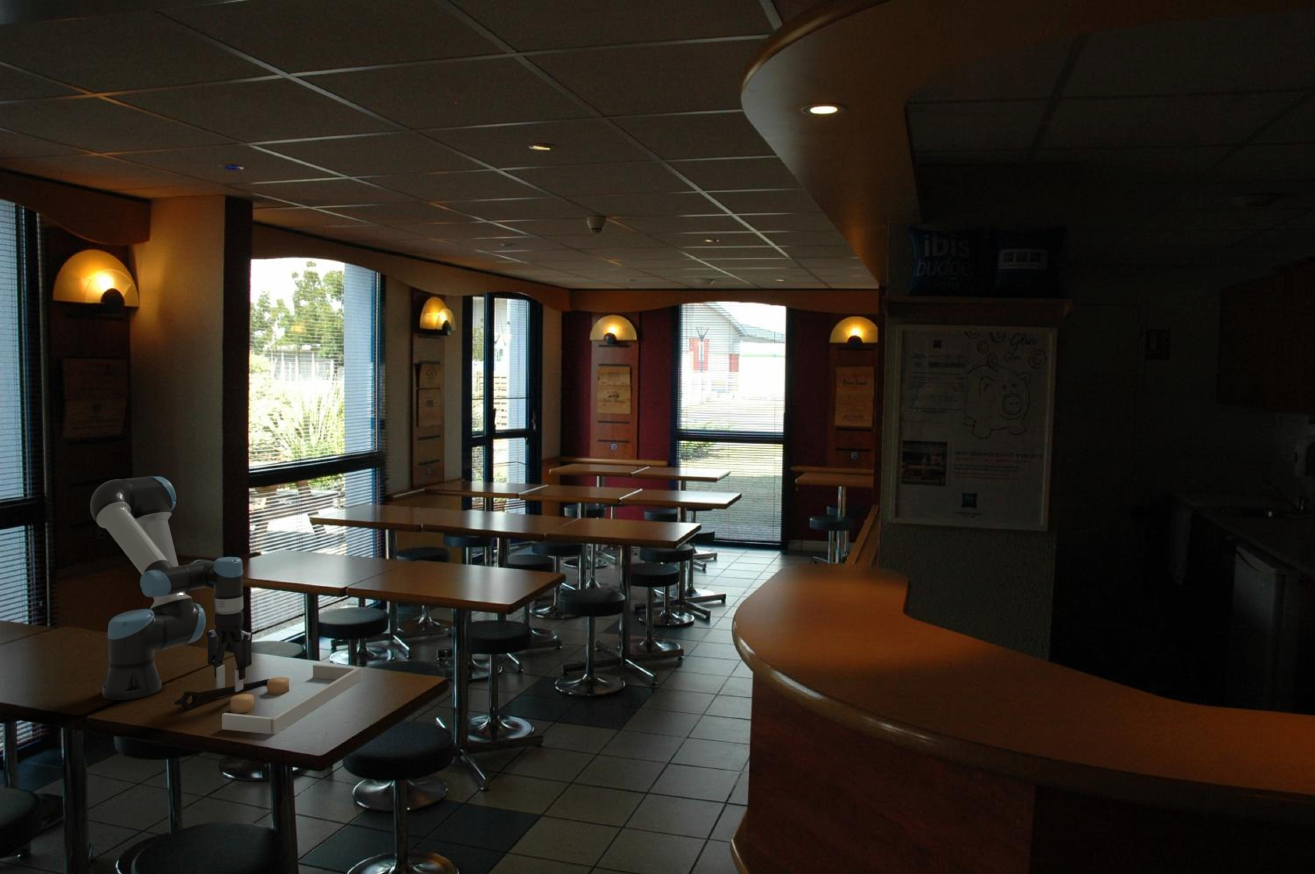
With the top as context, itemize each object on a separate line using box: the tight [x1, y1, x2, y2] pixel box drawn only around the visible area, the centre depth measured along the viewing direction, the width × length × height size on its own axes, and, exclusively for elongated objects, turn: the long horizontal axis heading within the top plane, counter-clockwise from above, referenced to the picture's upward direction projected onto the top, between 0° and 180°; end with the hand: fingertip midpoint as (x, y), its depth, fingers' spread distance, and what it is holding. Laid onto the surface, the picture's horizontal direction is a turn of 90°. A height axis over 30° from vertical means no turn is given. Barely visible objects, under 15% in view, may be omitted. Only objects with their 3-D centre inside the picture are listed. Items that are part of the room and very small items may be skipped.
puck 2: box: [266, 676, 290, 696], centre depth 269 cm, size 6×6×4 cm
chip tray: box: [221, 663, 362, 735], centre depth 260 cm, size 16×44×4 cm, turn 169°
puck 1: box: [230, 693, 255, 714], centre depth 254 cm, size 6×6×4 cm
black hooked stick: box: [174, 678, 270, 711], centre depth 263 cm, size 5×5×30 cm
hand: (230, 689), depth 264 cm, fingers open, 5 cm apart
